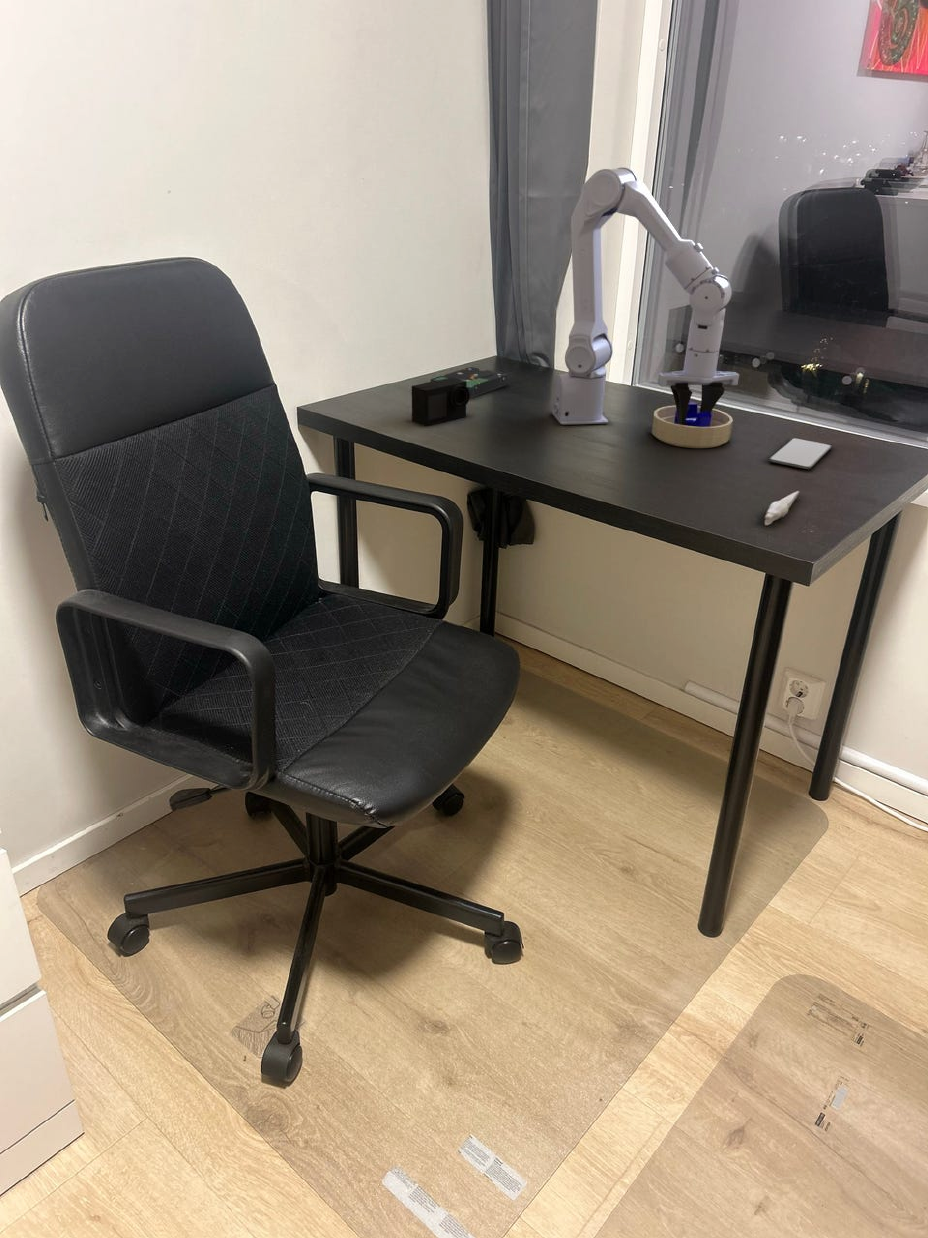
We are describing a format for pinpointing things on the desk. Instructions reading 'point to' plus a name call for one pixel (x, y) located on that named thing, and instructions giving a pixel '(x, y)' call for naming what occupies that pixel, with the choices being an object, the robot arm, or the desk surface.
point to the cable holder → (696, 417)
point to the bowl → (691, 429)
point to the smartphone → (800, 453)
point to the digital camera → (439, 401)
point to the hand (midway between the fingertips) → (691, 423)
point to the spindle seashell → (779, 508)
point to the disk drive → (477, 380)
